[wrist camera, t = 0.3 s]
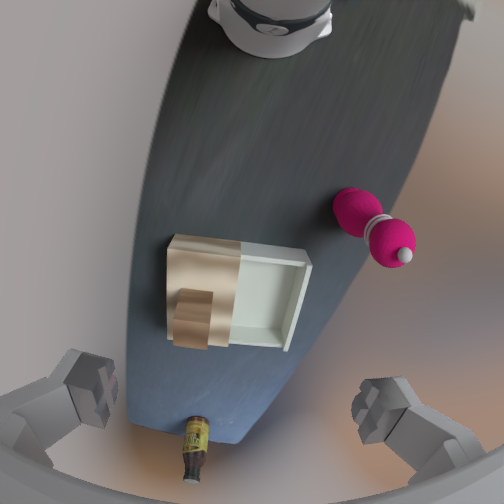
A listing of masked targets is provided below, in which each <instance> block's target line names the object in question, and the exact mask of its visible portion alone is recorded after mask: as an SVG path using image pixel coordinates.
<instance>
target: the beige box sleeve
mask: <svg viewBox="0 0 504 504" xmlns="http://www.w3.org/2000/svg"><path fill="white" fill-rule="evenodd" d="M240 261H241V241H233V240H224V239H216V238H208V237H200V236H191V235H183V234H175V235H174V237H173V239H172V241H171V243H170V245H169V247H168V248H167V339H170V340H173V317H174V313H175V310H176V306H177V303H178V300H179V296H180V293H181V290H182V288H187V289H195V290H203V291H211V292H213V301H212V311H211V321H210V329H209V337H208V345H216V346H225V347H228V343H229V336H230V329H231V322H232V315H233V308H234V301H235V294H236V288H237V281H238V274H239V268H240Z"/></svg>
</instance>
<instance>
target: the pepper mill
mask: <svg viewBox="0 0 504 504" xmlns="http://www.w3.org/2000/svg"><path fill="white" fill-rule="evenodd" d="M333 212H334V214H335V216H336V218H337V219H338V222H339V225H340V226H341V228H342V229H343V230H344V231H345V232H347V233H348V234H350V235H352V236H355V237H364V240H365V242H366V244H367V246H368V247H369V248H370V252H371V255H372V256H373V258H374V259H375V260H376V261H377V262H378V263H379V264H381V265H382V266H385V267H388V268H396V267H400V266H402V265H404V264H405V263H408V262H409V261H410V260H411V259H412V255H413V253H414V250H415V246H416V240H415V235H414V233H413V231H412V229H411V228H410V226H409V225H408V224H406V223H405V222H404V221H402V220H399V219H393V218H392V217H391V216H389V215H386V214H383V211H382V207H381V205H380V203H379V201H378V200H377V198H376V197H375V196H373V195H372V194H371V193H369V192H367V191H363V190H359V189H357V188H353V187H351V188H345V189H343V190H341V191H340V192H339V193H338V194H337V195H336V197H335V199H334V202H333Z"/></svg>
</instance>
